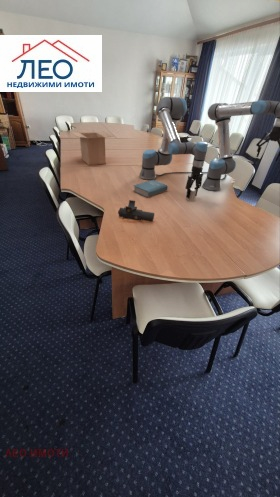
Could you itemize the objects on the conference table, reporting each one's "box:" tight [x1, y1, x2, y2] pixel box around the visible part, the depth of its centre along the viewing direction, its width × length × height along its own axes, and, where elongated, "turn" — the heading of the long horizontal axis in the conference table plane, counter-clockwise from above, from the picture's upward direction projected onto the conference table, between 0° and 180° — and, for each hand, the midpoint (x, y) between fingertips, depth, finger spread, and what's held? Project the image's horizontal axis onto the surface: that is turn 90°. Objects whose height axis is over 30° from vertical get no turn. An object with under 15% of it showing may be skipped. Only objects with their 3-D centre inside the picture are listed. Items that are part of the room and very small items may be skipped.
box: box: [70, 129, 114, 166], centre depth 229 cm, size 44×36×27 cm
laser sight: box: [117, 199, 155, 223], centre depth 137 cm, size 10×22×10 cm, turn 78°
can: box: [186, 187, 197, 202], centre depth 168 cm, size 6×6×8 cm
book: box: [133, 179, 169, 198], centre depth 177 cm, size 23×16×5 cm
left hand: (191, 196), depth 169 cm, fingers open, 7 cm apart
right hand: (266, 158), depth 162 cm, fingers open, 13 cm apart
